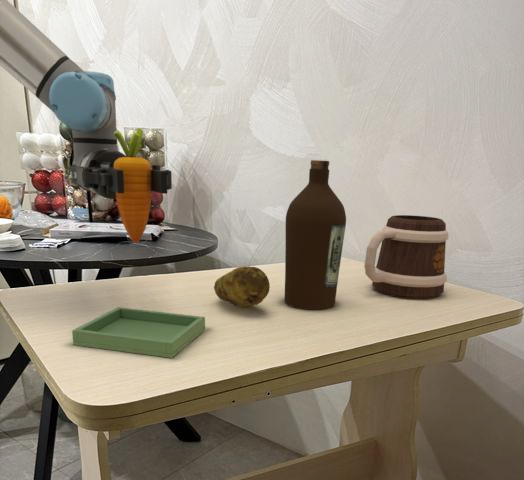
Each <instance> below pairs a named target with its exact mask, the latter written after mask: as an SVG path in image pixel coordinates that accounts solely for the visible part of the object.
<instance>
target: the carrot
mask: <svg viewBox="0 0 524 480" xmlns="http://www.w3.org/2000/svg"><path fill="white" fill-rule="evenodd" d="M136 129H137V130H136V132H133V134H132V136H131V139H130V141H128V142H127V143H126V140H125V138H124V136H123V134H122V132H120V131H119V130H116V131H115V132H114V135H115V136H116V138H117V142H118V143H119V145H120V147H121V149H122V151H123V154H124V155H125V156H126V157H121V158H118V159H117V160H116V161H115V162H114V167H113V169H118V170H123V179H124V193H117V192H116V198H117V199H116V202H117V203H116V204H117V207H118V211H119V216H120V219H121V222H122V224H123V226H124V230H125V231H126V233H127V235H128V236H129V239H130V240H131V241H132V242H133V243H134V244H138V243H139V242H140V240H141V239H142V237H143V235H144V233H145V230H146V228H147V225H148V222H149V217H150V211H151V205H152V191H151V189H152V176H151V170H152V165H151V162H150V161H149V160H147V159H146V158H143V157H138V154H139V152H140V150H141V148H142V147H143V145H142V144H141V143H142V139H143V133H144V130H143V129H142V128H139V127H138V128H136Z"/></svg>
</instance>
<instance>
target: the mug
mask: <svg viewBox="0 0 524 480" xmlns="http://www.w3.org/2000/svg"><path fill="white" fill-rule="evenodd" d="M448 240H449V231H448V230H447V224H446V222H445V221H444V220H443V219H442V218H438V217H433V216H424V215H408V214H398V215H397V214H396V215H392V216H390V217H388V218H387V221H386V224H385V225H384V226H383V227H382V230H380V229H379V230H378V231H376V233H375V234H373V236H372V237H371V238H370V240H369V243H368V245H367V247H366V251H365V259H364V273H365V276H367V277H368V279H369V280H370V281H371V286H372V288H373V289H374V290H375V291H376V292H378V293H381V294H383V295H387V296H390V297H395V298H401V299H402V298H403V299H410V300H411V299H412V300H414V299H415V300H427V299H433V298H437V297H439V296H440V295H442V294H444V292H445V283H446V282H447V274H446V273H445V265H446V264H445V263H446V246H447V245H446V244H447V243H446V242H447V241H448ZM379 247H380V250H379V253H378V249H379ZM377 253H378V258H377ZM376 258H377V263H376Z"/></svg>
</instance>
